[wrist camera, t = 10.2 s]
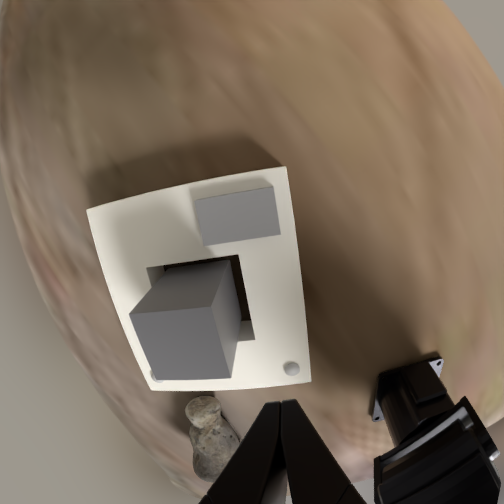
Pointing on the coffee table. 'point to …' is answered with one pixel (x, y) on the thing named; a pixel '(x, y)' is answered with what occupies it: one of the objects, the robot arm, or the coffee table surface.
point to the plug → (190, 322)
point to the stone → (210, 437)
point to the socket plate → (211, 246)
